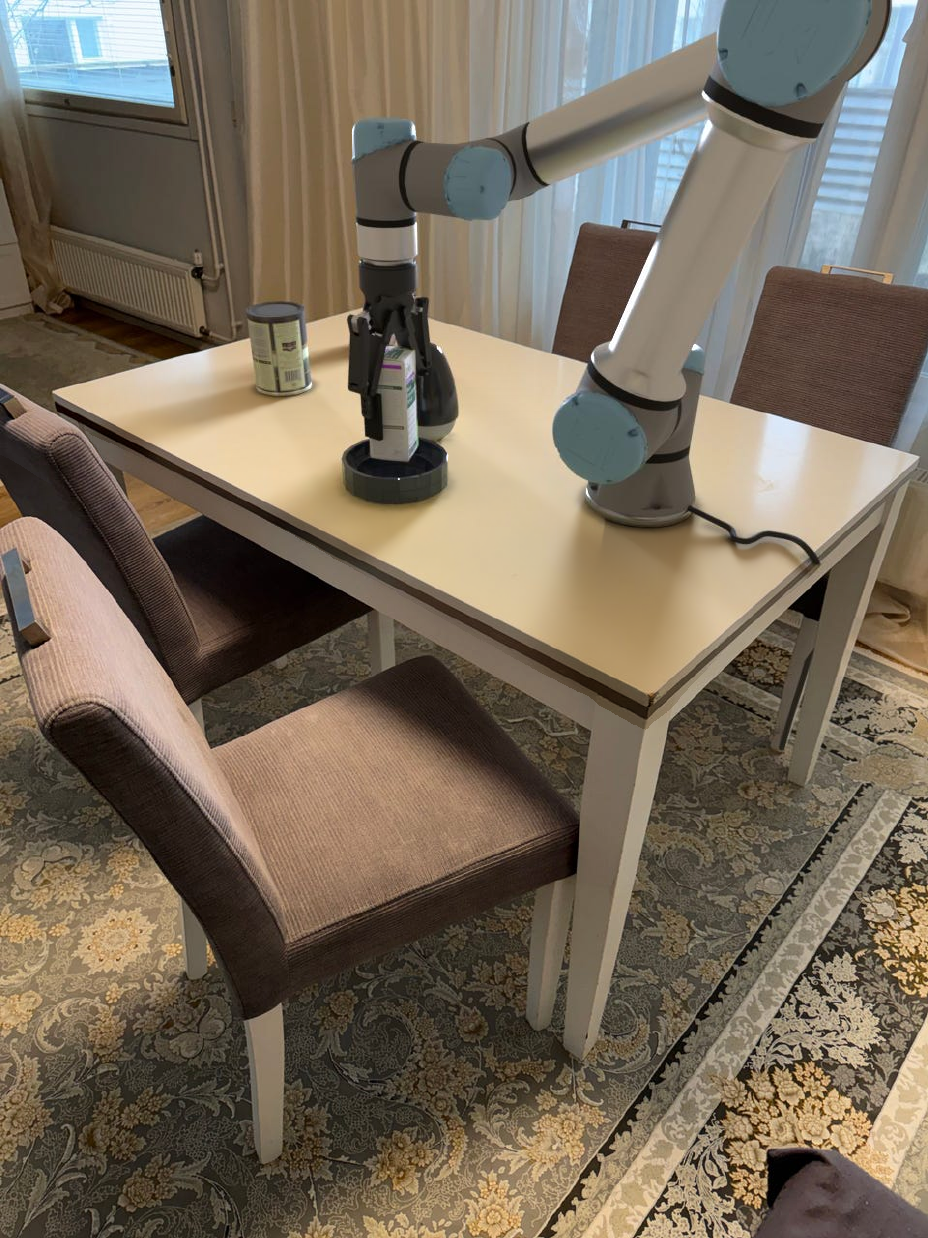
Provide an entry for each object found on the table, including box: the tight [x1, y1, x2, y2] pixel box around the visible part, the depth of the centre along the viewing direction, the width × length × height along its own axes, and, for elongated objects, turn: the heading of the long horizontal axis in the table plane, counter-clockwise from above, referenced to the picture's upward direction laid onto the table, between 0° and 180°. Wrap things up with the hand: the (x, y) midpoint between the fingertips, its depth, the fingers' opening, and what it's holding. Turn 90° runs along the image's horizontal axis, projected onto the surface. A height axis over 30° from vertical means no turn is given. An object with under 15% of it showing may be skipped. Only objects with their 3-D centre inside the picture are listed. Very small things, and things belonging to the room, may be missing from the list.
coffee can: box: [245, 300, 313, 397], centre depth 158 cm, size 10×10×14 cm
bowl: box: [341, 437, 449, 506], centre depth 127 cm, size 15×15×4 cm
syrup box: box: [368, 345, 419, 462], centre depth 122 cm, size 6×6×14 cm
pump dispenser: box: [418, 341, 460, 442], centre depth 139 cm, size 10×10×15 cm
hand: (393, 428), depth 124 cm, fingers closed on syrup box, 7 cm apart
